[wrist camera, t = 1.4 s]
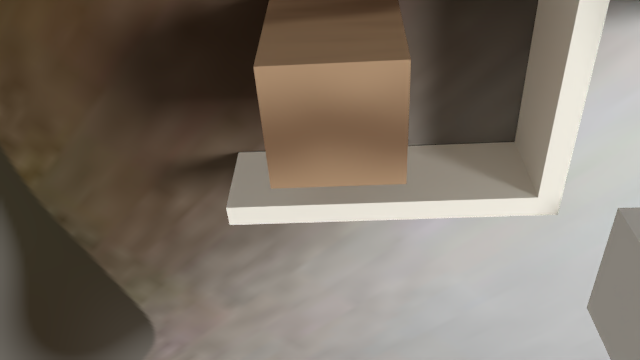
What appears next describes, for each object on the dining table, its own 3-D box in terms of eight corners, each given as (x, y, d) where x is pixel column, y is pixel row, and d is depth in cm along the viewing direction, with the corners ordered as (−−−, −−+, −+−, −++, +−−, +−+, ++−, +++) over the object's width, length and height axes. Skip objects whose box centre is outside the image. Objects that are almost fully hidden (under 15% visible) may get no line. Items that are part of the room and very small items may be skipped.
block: (271, -10, 29) (253, 66, 23) (394, -16, 29) (410, 59, 23) (283, 97, 33) (270, 188, 27) (392, 93, 33) (406, 183, 26)
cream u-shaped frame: (241, 168, 36) (229, 224, 32) (191, -110, 26) (166, -79, 22) (532, 158, 35) (557, 214, 31) (589, -135, 25) (635, -107, 22)
